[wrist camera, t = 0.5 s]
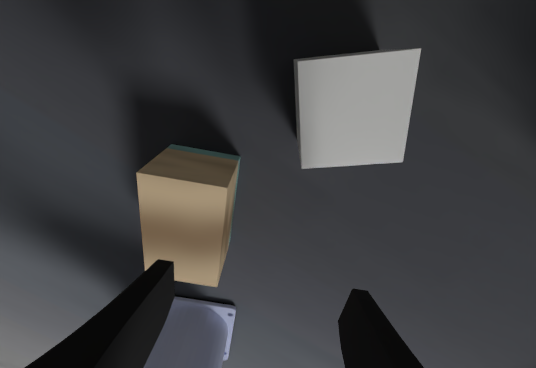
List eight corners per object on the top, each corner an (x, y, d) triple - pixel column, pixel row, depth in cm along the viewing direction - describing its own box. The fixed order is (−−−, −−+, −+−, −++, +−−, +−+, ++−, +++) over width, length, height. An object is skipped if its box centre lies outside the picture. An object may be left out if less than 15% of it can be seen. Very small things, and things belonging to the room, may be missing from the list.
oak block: (230, 239, 22) (217, 287, 17) (173, 230, 22) (145, 275, 17) (240, 155, 18) (227, 187, 14) (172, 143, 18) (136, 172, 14)
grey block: (371, 133, 17) (402, 161, 12) (297, 139, 17) (301, 168, 13) (379, 50, 15) (421, 48, 10) (293, 59, 15) (297, 61, 11)
